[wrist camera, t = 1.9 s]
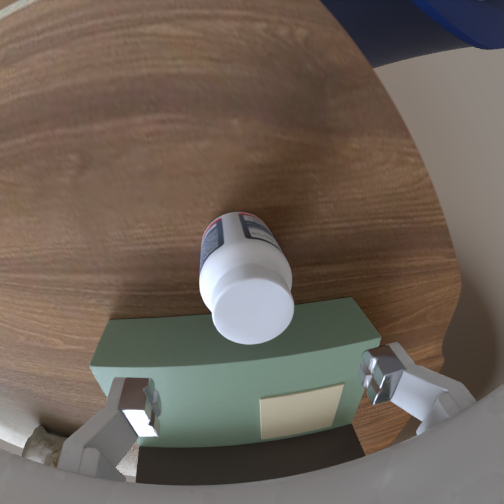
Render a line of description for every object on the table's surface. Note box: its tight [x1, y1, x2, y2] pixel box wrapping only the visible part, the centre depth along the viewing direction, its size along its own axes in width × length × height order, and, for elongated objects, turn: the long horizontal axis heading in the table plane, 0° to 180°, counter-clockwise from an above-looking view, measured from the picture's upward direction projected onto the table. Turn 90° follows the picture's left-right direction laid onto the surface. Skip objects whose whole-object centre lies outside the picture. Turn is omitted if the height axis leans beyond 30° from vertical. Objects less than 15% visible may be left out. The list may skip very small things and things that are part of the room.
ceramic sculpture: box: [22, 426, 68, 468], centre depth 27 cm, size 11×9×15 cm
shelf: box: [89, 297, 382, 486], centre depth 22 cm, size 14×22×11 cm, turn 92°
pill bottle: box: [199, 212, 294, 344], centre depth 17 cm, size 5×5×9 cm
